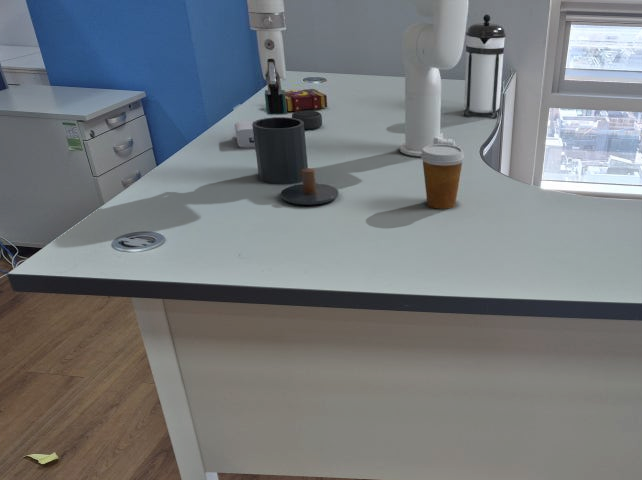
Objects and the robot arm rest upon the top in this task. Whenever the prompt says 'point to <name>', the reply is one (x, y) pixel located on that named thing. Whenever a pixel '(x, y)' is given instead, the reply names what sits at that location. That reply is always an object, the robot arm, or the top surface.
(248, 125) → the charger
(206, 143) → the top surface
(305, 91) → the decorative book
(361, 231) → the top surface
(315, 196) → the lid
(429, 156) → the disposable coffee cup
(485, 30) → the coffee press
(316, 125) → the smart speaker
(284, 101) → the block
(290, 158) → the container
